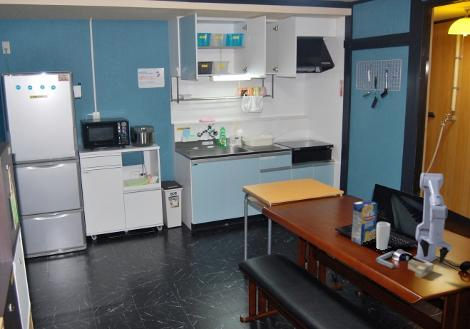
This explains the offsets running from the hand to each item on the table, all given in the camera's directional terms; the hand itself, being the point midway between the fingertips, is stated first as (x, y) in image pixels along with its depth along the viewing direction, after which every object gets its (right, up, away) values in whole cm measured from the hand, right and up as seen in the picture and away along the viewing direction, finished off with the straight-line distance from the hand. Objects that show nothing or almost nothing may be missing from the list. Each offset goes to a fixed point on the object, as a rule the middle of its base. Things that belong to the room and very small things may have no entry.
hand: (433, 259), depth 204 cm
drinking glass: (-13, -2, +32) cm, 34 cm away
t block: (-3, -8, +9) cm, 12 cm away
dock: (-12, -5, +20) cm, 24 cm away
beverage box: (-20, +1, +44) cm, 48 cm away
